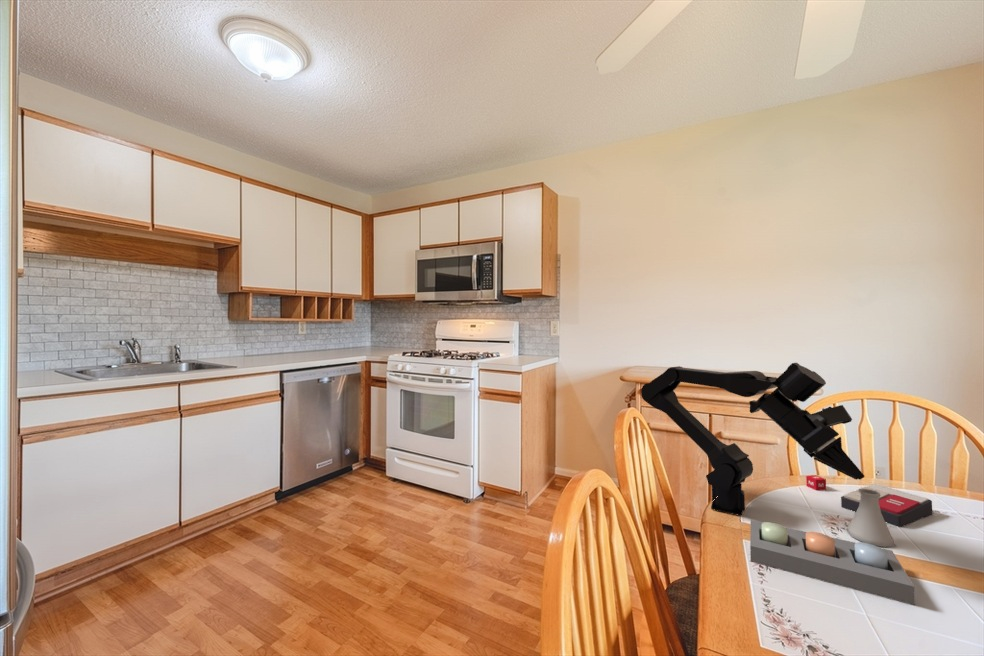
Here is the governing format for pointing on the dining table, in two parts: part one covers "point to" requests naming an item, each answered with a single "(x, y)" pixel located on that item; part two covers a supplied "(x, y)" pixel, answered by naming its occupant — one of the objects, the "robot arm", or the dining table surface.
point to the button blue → (871, 555)
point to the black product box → (893, 505)
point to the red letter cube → (816, 482)
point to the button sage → (774, 533)
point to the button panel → (832, 565)
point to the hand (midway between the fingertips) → (860, 478)
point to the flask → (870, 521)
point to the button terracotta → (820, 544)
